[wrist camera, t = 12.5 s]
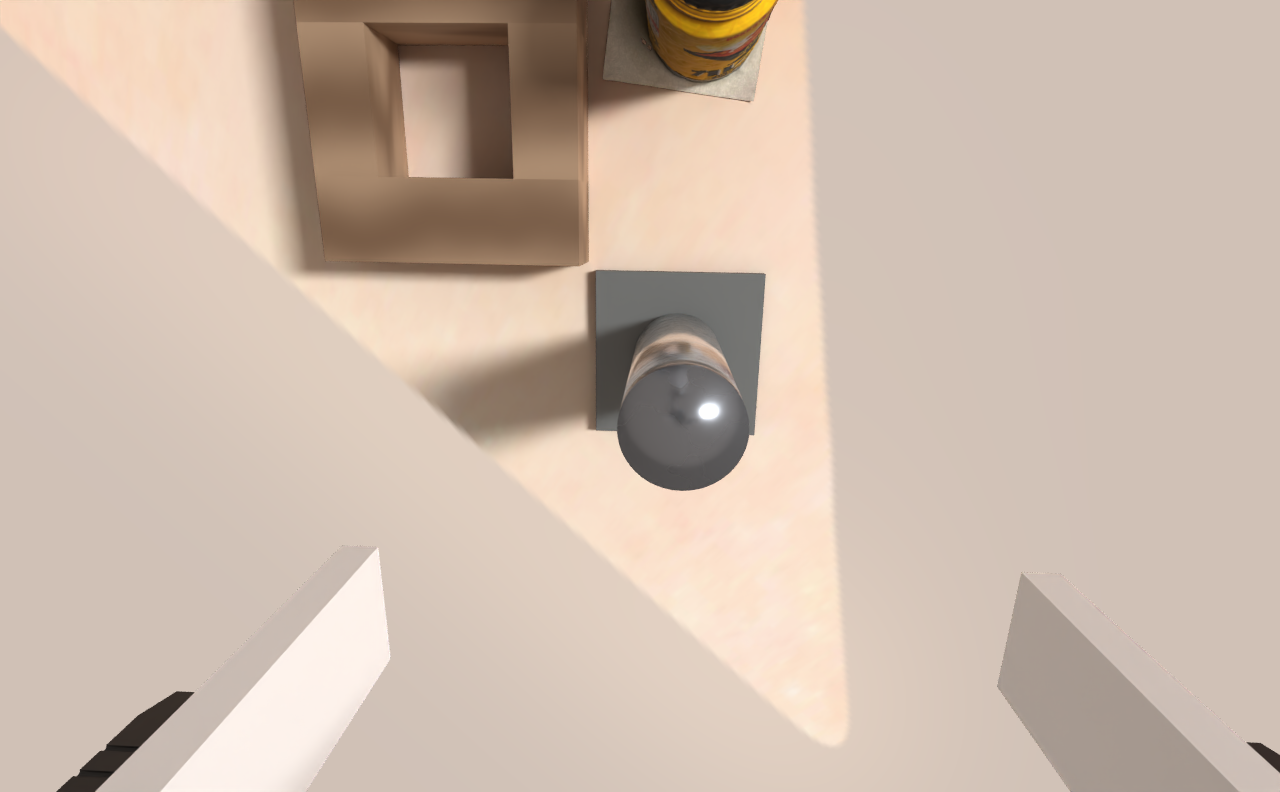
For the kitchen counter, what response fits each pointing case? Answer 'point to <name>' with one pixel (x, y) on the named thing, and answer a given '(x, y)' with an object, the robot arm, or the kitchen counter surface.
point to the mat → (651, 294)
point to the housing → (376, 147)
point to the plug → (681, 407)
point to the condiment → (688, 45)
